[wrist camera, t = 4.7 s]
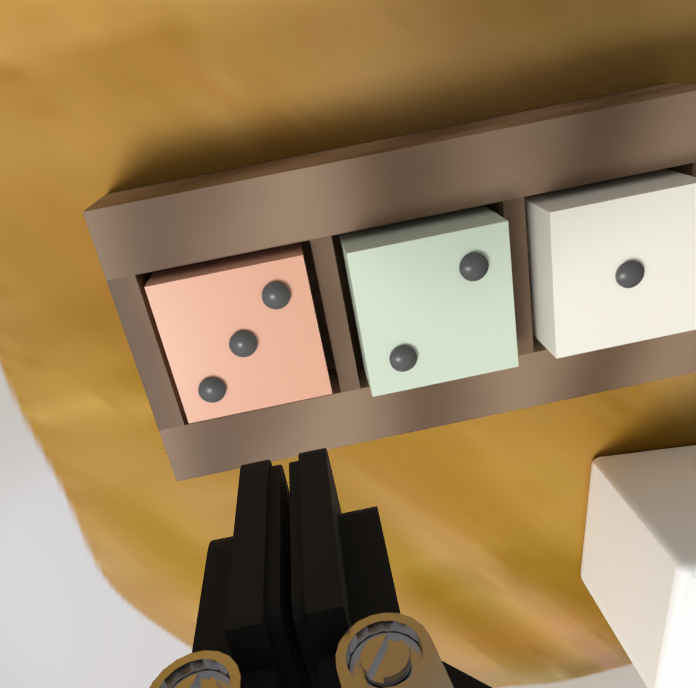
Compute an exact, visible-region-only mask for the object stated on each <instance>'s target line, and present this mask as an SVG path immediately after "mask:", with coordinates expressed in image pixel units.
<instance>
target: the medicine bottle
mask: <svg viewBox="0 0 696 688" xmlns="http://www.w3.org/2000/svg"><path fill="white" fill-rule="evenodd" d="M580 574H581V578H582V580H583V582H584V584H585V585H586V587H587V589H588V590H589V592H590V594H591V595H592V597H593V599H594V600H595V602H596V604H597V605H598V607H599V608H600V610H601V612H602V613H603V615H604V617H605V618H606V620H607V622H608V623H609V625H610V627H611V628H612V630H613V632H614V633H615V635H616V637H617V638H618V640H619V642H620V643H621V645H622V647H623V648H624V650H625V652H626V653H627V655H628V656H629V658H630V660H631V661H632V663H633V665H634V666H635V668H636V670H637V671H638V673H639V675H640V676H641V678H642V680H643V681H644V683H645V684H646V686H647V688H696V445H692V446H684V447H676V448H668V449H660V450H652V451H643V452H635V453H627V454H619V455H611V456H603V457H598V458H595V459H594V460H593V462H592V464H591V474H590V484H589V494H588V504H587V514H586V523H585V533H584V543H583V553H582V563H581V573H580Z"/></svg>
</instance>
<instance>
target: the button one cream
mask: <svg viewBox="0 0 696 688" xmlns="http://www.w3.org/2000/svg"><path fill="white" fill-rule="evenodd" d="M524 201H525V218H526V234H527V251H528V267H529V284H530V300H531V317H532V334H533V335H534V336H535V337H536V338H537V339H538V340H539V341H540V342H541V343H542V344H543V345H544V347H545V348H546V349H547V350H548V351H549V352H550V353H551V354H552V355H553V356H554V357H555V358H556V359H557V358H562V357H567V356H571V355H576V354H581V353H586V352H591V351H595V350H600V349H605V348H610V347H615V346H619V345H624V344H629V343H634V342H638V341H643V340H648V339H653V338H658V337H662V336H667V335H672V334H677V333H682V332H686V331H691V330H696V177H693V176H690V175H686V174H682V173H678V172H674V171H670V170H666V169H662V170H657V171H652V172H647V173H642V174H637V175H632V176H627V177H622V178H617V179H612V180H608V181H603V182H598V183H593V184H588V185H583V186H578V187H573V188H568V189H563V190H558V191H553V192H548V193H543V194H538V195H533V196H528V197H524Z"/></svg>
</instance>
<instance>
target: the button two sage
mask: <svg viewBox="0 0 696 688" xmlns="http://www.w3.org/2000/svg"><path fill="white" fill-rule="evenodd" d="M339 238H340V243H341V248H342V254H343V259H344V265H345V270H346V275H347V281H348V286H349V292H350V297H351V302H352V308H353V313H354V319H355V324H356V329H357V335H358V340H359V346H360V351H361V356H362V362H363V367H364V370H365V373H366V377H367V380H368V383H369V387H370V390H371V393H372V396H373V397H375V396H380V395H385V394H389V393H394V392H399V391H404V390H408V389H413V388H418V387H423V386H428V385H432V384H437V383H442V382H447V381H452V380H456V379H461V378H466V377H471V376H476V375H480V374H485V373H490V372H495V371H500V370H504V369H509V368H514V367H519V364H518V350H517V337H516V323H515V309H514V295H513V281H512V267H511V253H510V239H509V226H508V221H507V220H506V219H504V218H503V217H501V216H500V215H498V214H497V213H495V212H494V211H492V210H491V209H489V208H488V207H486V206H485V205H483V206H478V207H473V208H468V209H463V210H458V211H453V212H448V213H443V214H439V215H434V216H429V217H424V218H419V219H414V220H409V221H404V222H399V223H394V224H389V225H384V226H379V227H374V228H369V229H364V230H359V231H354V232H349V233H344V234H339Z"/></svg>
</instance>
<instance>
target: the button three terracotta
mask: <svg viewBox="0 0 696 688" xmlns="http://www.w3.org/2000/svg"><path fill="white" fill-rule="evenodd" d="M144 288H145V291H146V294H147V297H148V300H149V303H150V306H151V309H152V312H153V315H154V318H155V321H156V324H157V327H158V331H159V334H160V337H161V340H162V343H163V346H164V349H165V352H166V355H167V358H168V361H169V364H170V367H171V370H172V373H173V377H174V380H175V383H176V386H177V389H178V392H179V395H180V398H181V401H182V404H183V407H184V410H185V413H186V416H187V420H188V423H194V422H199V421H204V420H209V419H213V418H218V417H223V416H228V415H233V414H237V413H242V412H247V411H252V410H257V409H261V408H266V407H271V406H276V405H281V404H286V403H290V402H295V401H300V400H305V399H310V398H314V397H319V396H324V395H329V394H332V389H331V384H330V378H329V373H328V367H327V362H326V357H325V353H324V348H323V343H322V338H321V334H320V329H319V324H318V319H317V315H316V310H315V305H314V301H313V296H312V291H311V286H310V282H309V277H308V272H307V267H306V263H305V258H304V253H303V248H302V244H301V242H297V243H292V244H287V245H282V246H277V247H272V248H267V249H262V250H257V251H252V252H247V253H242V254H237V255H232V256H227V257H222V258H217V259H212V260H207V261H202V262H197V263H192V264H187V265H182V266H177V267H172V268H168V269H163V270H158V271H153V273H152V275H151V277H150V278H149V280H148V282H147V283H146V285H145V287H144Z"/></svg>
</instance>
